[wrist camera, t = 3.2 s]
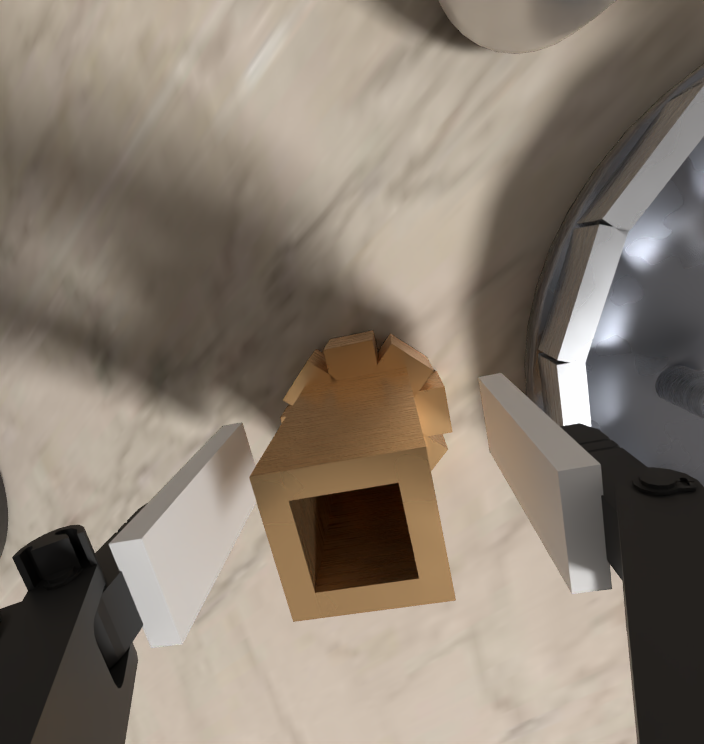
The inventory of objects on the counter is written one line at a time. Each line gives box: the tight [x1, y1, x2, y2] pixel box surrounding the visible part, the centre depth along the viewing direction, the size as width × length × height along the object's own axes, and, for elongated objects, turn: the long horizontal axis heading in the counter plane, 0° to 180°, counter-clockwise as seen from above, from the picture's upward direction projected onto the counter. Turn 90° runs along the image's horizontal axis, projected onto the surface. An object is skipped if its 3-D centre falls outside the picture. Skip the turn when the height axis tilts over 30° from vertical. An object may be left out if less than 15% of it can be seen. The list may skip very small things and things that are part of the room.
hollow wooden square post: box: [249, 330, 456, 622], centre depth 14 cm, size 6×6×9 cm
